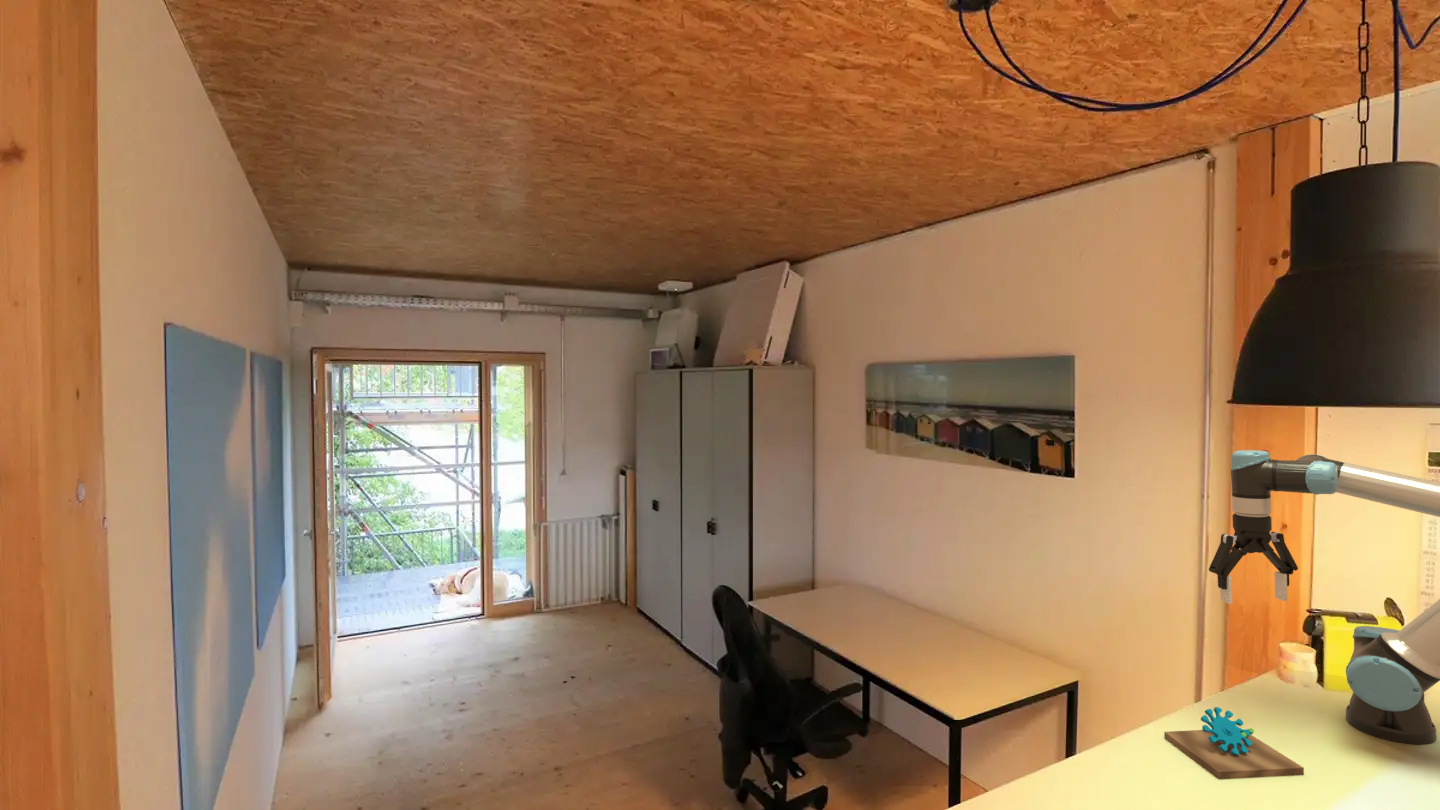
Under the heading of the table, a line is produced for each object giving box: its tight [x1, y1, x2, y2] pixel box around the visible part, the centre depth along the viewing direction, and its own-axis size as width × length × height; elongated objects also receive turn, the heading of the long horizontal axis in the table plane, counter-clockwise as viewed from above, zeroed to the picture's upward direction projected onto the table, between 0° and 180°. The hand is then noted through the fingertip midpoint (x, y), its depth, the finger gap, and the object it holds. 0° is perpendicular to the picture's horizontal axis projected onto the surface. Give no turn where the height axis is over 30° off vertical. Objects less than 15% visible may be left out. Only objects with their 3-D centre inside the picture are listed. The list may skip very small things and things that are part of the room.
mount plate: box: [1164, 729, 1305, 780], centre depth 151 cm, size 18×17×2 cm
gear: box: [1200, 706, 1255, 756], centre depth 153 cm, size 11×6×10 cm
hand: (1253, 600), depth 167 cm, fingers open, 13 cm apart
